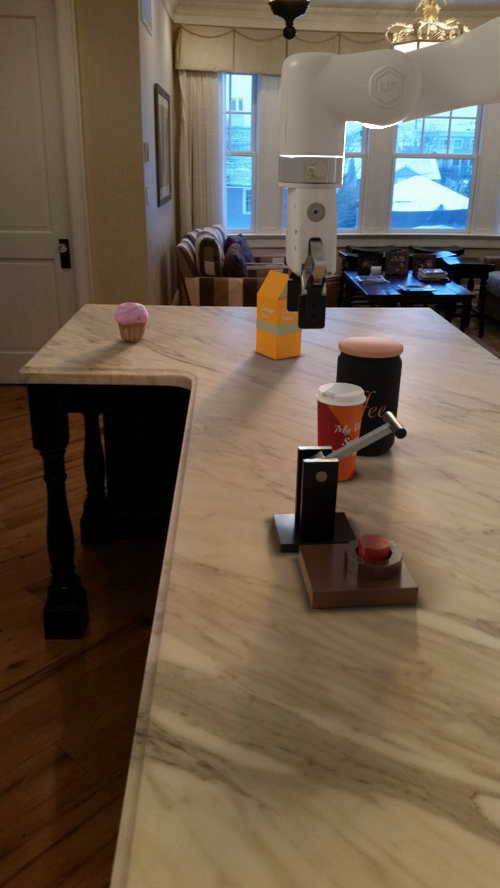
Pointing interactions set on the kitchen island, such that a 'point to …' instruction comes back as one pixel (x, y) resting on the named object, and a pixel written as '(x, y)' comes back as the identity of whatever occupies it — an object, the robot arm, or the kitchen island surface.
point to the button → (374, 547)
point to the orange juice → (276, 320)
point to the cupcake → (131, 321)
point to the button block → (355, 577)
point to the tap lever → (368, 438)
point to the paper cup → (340, 420)
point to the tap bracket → (313, 505)
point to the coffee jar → (372, 382)
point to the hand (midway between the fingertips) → (304, 319)
